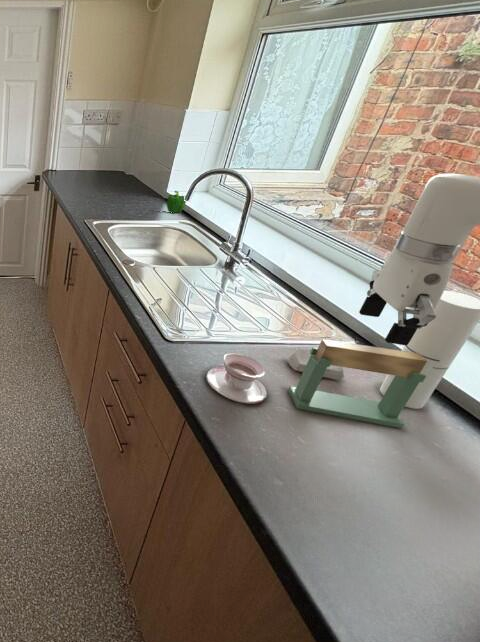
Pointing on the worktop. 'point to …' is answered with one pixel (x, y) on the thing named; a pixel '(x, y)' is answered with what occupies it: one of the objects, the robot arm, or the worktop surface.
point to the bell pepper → (175, 203)
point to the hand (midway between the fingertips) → (381, 328)
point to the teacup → (238, 379)
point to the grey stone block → (301, 359)
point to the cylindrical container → (440, 342)
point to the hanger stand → (351, 406)
